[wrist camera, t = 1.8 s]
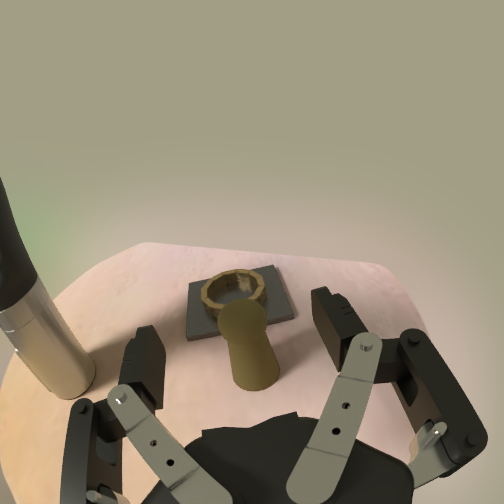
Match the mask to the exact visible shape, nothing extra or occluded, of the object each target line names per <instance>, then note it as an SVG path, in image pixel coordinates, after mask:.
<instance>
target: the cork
mask: <svg viewBox="0 0 504 504" xmlns="http://www.w3.org/2000/svg"><path fill="white" fill-rule="evenodd" d="M217 319H218V328H219V331H220V333H221V334H222V336H223V337H224V338H225V339H226V340H227V341H228V347H229V354H230V361H231V367H232V374H233V380H234V381H235V383H236V384H237V385H238V386H239V387H240V388H242V389H244V390H247V391H260V390H264V389H266V388H268V387H270V386H271V385H272V384H273V383H274V382H275V381H276V380H277V378H278V376H279V372H280V368H279V365H278V362H277V360H276V357H275V355H274V352H273V350H272V347H271V345H270V342H269V340H268V337H267V335H266V332H265V330H266V327H267V315H266V312H265V310H264V308H263V307H262V306H261V305H260V304H259V303H258V302H256V301H254V300H252V299H247V298H245V299H237V300H233V301H231V302H229V303H227V304H226V305H225V306H223V308H222V309H221V310H220V313H219V315H218V318H217Z"/></svg>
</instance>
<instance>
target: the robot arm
mask: <svg viewBox="0 0 504 504" xmlns="http://www.w3.org/2000/svg"><path fill="white" fill-rule="evenodd" d="M311 300H312V315H313V320H314V323H315V325H316V327H317V329H318V331H319V333H320V336H321V338H322V340H323V342H324V344H325V346H326V348H327V350H328V352H329V354H330V356H331V358H332V360H333V363H334V365H335V367H336V369H337V371H338V372H341V373H340V375H338V376H337V378H336V380H335V383H334V385H333V388H332V390H331V393H330V395H329V398H328V400H327V402H326V405H325V407H324V410H323V412H322V414H321V417H320V419H315V418H310V417H298V415H297V412H292V413H288V414H285V415H280V416H276V417H273V418H270V419H268V420H266V421H264V422H262V423H260V424H257V425H255V426H253V427H250V428H236V427H221V428H214V429H207V430H202V437H199V438H197V439H195V440H194V441H192V442H191V443H189V444H188V445H187V446H186V447H185V448H184V447H183V446H182V445H181V444H180V443H179V442H178V441H177V440H176V439H175V438H174V437H173V436H172V434H171V433H170V432H169V431H168V430H167V429H166V428H165V427H164V426H163V424H162V423H161V422H160V421H159V420H158V419H157V418H156V416H155V410H158V409H163V396H164V378H165V363H166V352H165V348H164V346H163V344H162V342H161V340H160V338H159V336H158V334H157V332H156V330H155V328H154V327H153V326H152V325H150V326H144V327H139V328H138V329H137V332H136V337H135V338H133V339H131V340H130V341H129V343H128V344H127V346H126V348H125V353H124V357H123V363H122V367H121V372H120V377H119V382H118V385H117V386H115V387H114V388H113V389H112V390H111V391H110V392H109V394H108V397H107V398H106V399H104V400H101V401H98V402H96V403H93V402H92V401H91V400H90V399H88V398H81V399H79V400H77V401H76V402H75V403H74V404H73V406H72V408H71V411H70V417H69V422H68V428H67V434H66V441H65V448H64V456H63V465H62V475H61V489H60V504H130V502H129V501H128V499H127V498H126V497H124V496H123V495H122V438H124V437H126V436H127V437H128V438H129V440H130V441H131V443H132V444H133V445H134V447H135V448H136V449H137V451H138V452H139V453H140V455H141V456H142V457H143V459H144V460H145V461H146V462H147V464H148V465H149V466H150V468H151V469H152V470H153V471H154V472H155V474H156V475H157V476H158V477H159V478H160V480H159V481H158V483H157V484H156V485H155V487H154V488H153V489H152V490H151V492H150V493H149V494H148V495H147V497H146V498H145V499H144V500H143V502H142V503H141V504H412V497H413V492H414V490H415V489H416V488H418V487H421V486H423V485H425V484H427V483H429V482H431V481H433V480H434V479H436V478H438V477H440V478H445V477H448V476H450V475H451V474H453V473H454V472H456V471H457V470H459V469H460V468H461V467H463V466H464V465H465V464H467V463H468V462H470V461H471V460H472V459H473V458H475V457H476V456H477V455H479V454H480V453H481V452H482V451H483V450H484V449H485V447H486V445H487V441H488V435H487V432H486V430H485V428H484V426H483V424H482V422H481V420H480V419H479V417H478V415H477V413H476V412H475V410H474V408H473V406H472V405H471V403H470V401H469V400H468V398H467V396H466V395H465V393H464V391H463V390H462V388H461V386H460V385H459V383H458V382H457V380H456V378H455V377H454V375H453V374H452V372H451V371H450V369H449V368H448V366H447V364H446V363H445V362H444V360H443V358H442V357H441V355H440V354H439V352H438V351H437V349H436V348H435V347H434V345H433V344H432V342H431V341H430V339H429V338H428V336H427V335H426V334H425V333H424V332H423V331H421V330H419V329H413V328H412V329H407V330H405V331H403V332H402V333H401V335H400V338H395V339H380V338H379V337H378V336H377V335H375V334H373V333H369V332H368V330H367V329H366V327H365V326H364V324H363V323H362V321H361V319H360V318H359V317H358V315H357V314H356V312H355V311H354V309H353V308H352V307H351V305H350V303H349V302H348V300H347V299H346V298H345V297H343V296H342V295H340V294H339V293H337V294H334V295H332V294H331V293H330V291H329V289H328V288H327V287H326V286H324V287H321V288H317V289H313V290H311ZM0 328H1V329H2V330H3V332H4V333H5V334H6V336H7V337H8V339H9V340H10V342H11V343H12V344H13V346H14V347H15V351H16V353H17V355H18V356H19V357H20V359H21V360H22V361H23V362H24V363H25V365H26V366H27V367H28V368H29V369H30V371H31V372H32V373H33V374H34V375H35V376H36V377H37V379H38V380H39V381H40V382H41V383H42V384H43V385H44V386H45V387H46V388H47V389H48V391H50V392H53V393H54V394H55V395H56V396H57V397H59V398H61V399H73V398H75V397H78V396H79V395H81V394H82V393H83V392H85V391H86V390H87V389H88V387H89V386H90V385H91V383H92V381H93V379H94V376H95V365H94V363H93V361H92V360H91V359H90V357H89V356H88V354H87V353H86V352H85V350H84V349H83V347H82V346H81V344H80V343H79V342H78V340H77V339H76V337H75V336H74V334H73V333H72V331H71V330H70V328H69V327H68V325H67V324H66V322H65V321H64V319H63V317H62V316H61V314H60V313H59V311H58V309H57V308H56V306H55V304H54V303H53V301H52V299H51V297H50V296H49V294H48V292H47V291H46V289H45V287H44V285H43V283H42V281H41V280H40V278H39V276H38V274H37V272H36V270H35V268H34V266H33V264H32V262H31V260H30V258H29V255H28V253H27V251H26V249H25V246H24V244H23V242H22V239H21V237H20V235H19V232H18V230H17V227H16V224H15V221H14V218H13V215H12V211H11V208H10V205H9V201H8V198H7V195H6V192H5V188H4V186H3V183H2V180H1V178H0ZM389 382H391V383H392V385H393V387H394V389H395V391H396V393H397V395H398V397H399V400H400V402H401V404H402V406H403V408H404V410H405V412H406V414H407V416H408V418H409V421H410V423H411V425H412V427H413V429H414V431H415V434H416V435H415V436H414V438H413V439H412V440H411V443H410V447H409V449H410V454H411V458H410V462H409V464H408V465H406V464H405V463H404V462H402V461H401V460H399V459H397V458H395V457H392V456H390V455H388V454H386V453H384V452H382V451H380V450H378V449H375V448H373V447H371V446H369V445H367V444H365V443H363V442H361V441H359V440H358V439H356V436H357V433H358V430H359V427H360V425H361V422H362V419H363V415H364V412H365V409H366V406H367V403H368V399H369V396H370V392H371V389H372V385H373V384H379V383H389Z"/></svg>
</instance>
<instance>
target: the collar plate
mask: <svg viewBox="0 0 504 504" xmlns="http://www.w3.org/2000/svg"><path fill="white" fill-rule="evenodd" d="M245 298H247V299H252V300H254V301H256V302H258V303H259V304H260V305H261V306H262V307H263V308H264V310H265V312H266V315H267V325H270V324H274V323H278V322H282V321H287V320H291V319H294V315H293V312H292V309H291V307H290V304H289V302H288V299H287V297H286V294H285V292H284V289H283V287H282V284H281V282H280V279H279V277H278V275H277V272H276V270H275V267H274V265H270V266H265V267H261V268H256V269H252V270H244V269H235V270H230V271H225V272H221V273H220V274H218V275H216V276H214V277H212V278H211V279H206V280H201V281H197V282H192V283H189V290H188V307H187V330H186V337H187V339H188V341H192V340H197V339H203V338H208V337H214V336H219V335H222V334H221V333H220V331H219V328H218V319H217V318H218V315H219V313H220V310H221V309H222V308H223V306H225V305H226V304H227V303H229V302H231V301H233V300H237V299H245Z"/></svg>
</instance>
